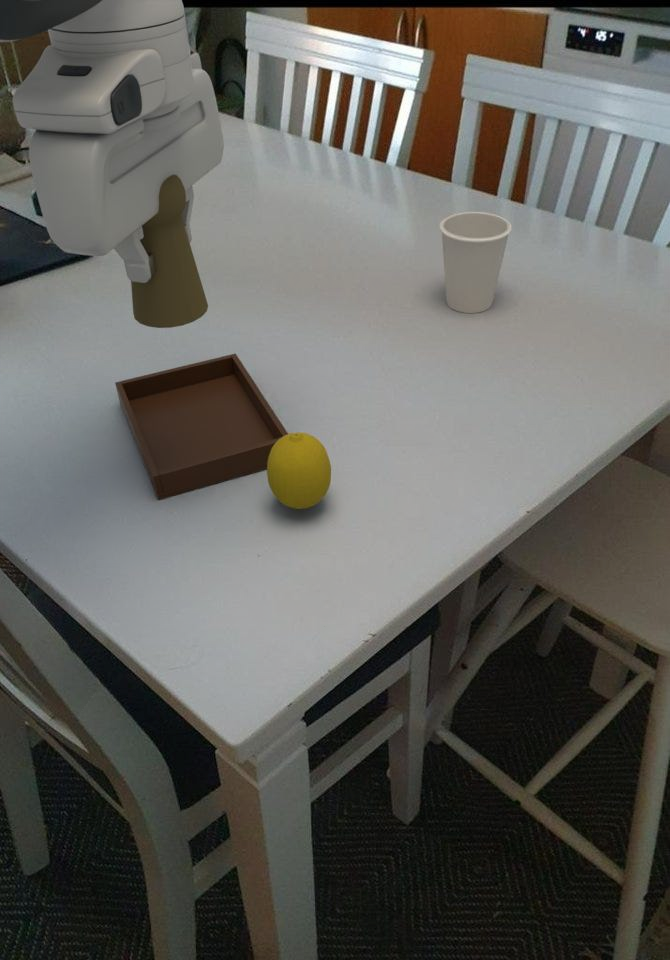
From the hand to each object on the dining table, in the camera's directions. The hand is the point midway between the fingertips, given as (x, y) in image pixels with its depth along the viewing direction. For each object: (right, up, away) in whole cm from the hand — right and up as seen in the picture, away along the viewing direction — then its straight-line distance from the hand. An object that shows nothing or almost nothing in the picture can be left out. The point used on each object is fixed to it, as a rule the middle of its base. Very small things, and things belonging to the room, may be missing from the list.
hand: (161, 262), depth 63 cm
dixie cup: (+30, +5, +38) cm, 49 cm away
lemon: (+11, -20, +10) cm, 24 cm away
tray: (0, -12, +19) cm, 22 cm away
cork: (0, -3, +3) cm, 4 cm away
